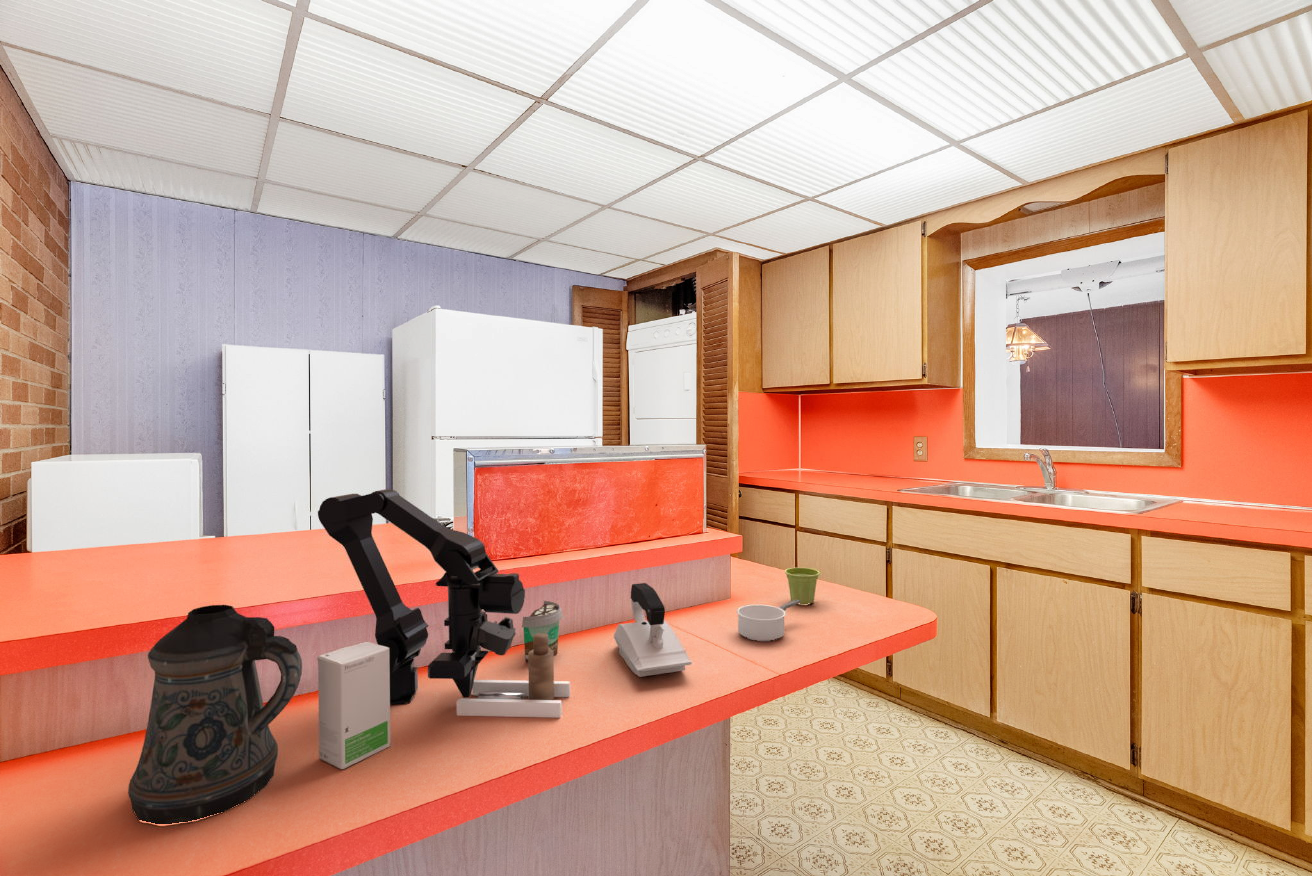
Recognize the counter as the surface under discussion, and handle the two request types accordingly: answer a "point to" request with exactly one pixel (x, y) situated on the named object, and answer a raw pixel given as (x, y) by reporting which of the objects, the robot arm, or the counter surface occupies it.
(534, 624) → the food container
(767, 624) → the saucepan
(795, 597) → the plant pot
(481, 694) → the rod
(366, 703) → the skincare box
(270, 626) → the beer stein
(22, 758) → the counter surface
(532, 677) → the walnut skittle
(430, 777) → the counter surface
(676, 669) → the iron
